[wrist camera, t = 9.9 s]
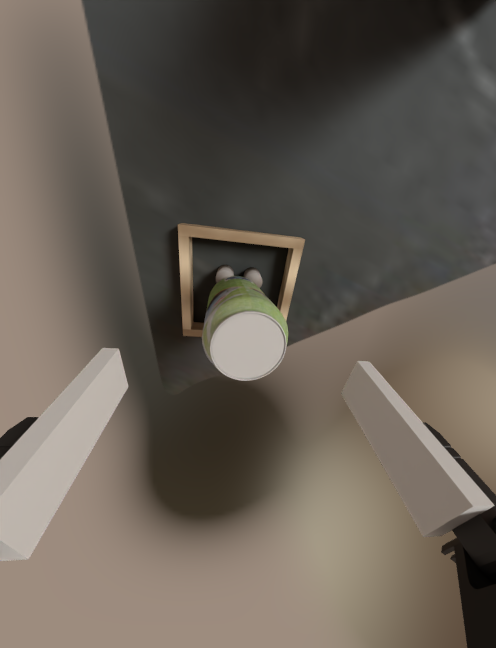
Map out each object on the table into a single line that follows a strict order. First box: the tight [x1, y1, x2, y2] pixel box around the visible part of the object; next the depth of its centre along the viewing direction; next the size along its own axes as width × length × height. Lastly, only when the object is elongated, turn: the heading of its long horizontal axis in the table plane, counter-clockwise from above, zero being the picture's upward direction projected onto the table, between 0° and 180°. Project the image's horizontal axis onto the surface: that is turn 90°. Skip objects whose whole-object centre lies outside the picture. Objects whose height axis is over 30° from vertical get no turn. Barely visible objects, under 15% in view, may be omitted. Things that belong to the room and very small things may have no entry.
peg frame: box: [178, 223, 305, 337], centre depth 24 cm, size 13×13×2 cm
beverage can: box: [202, 276, 288, 381], centre depth 18 cm, size 6×7×12 cm
